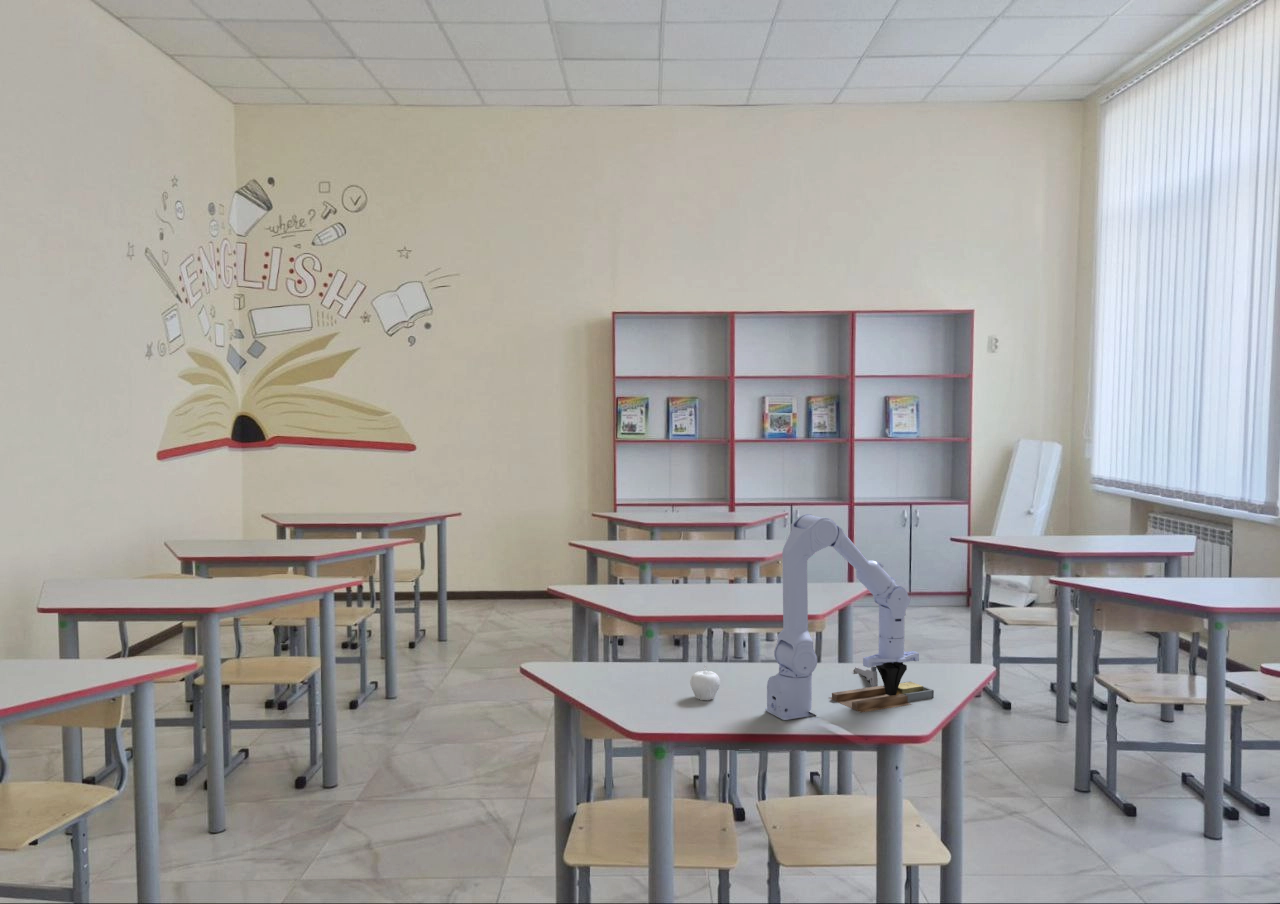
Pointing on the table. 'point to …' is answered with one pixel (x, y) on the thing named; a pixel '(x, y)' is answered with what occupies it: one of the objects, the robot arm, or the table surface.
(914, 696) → the tray
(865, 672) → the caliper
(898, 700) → the slot board
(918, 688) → the block
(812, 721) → the table surface
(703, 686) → the plain white apple
